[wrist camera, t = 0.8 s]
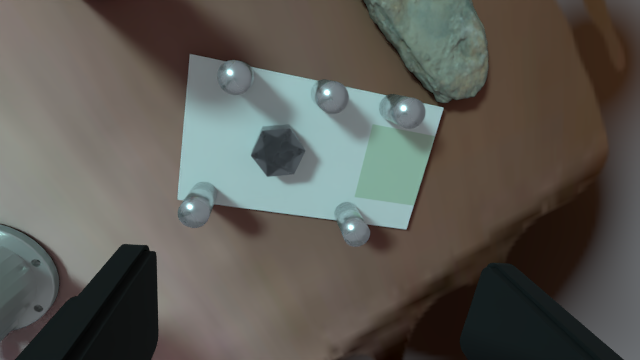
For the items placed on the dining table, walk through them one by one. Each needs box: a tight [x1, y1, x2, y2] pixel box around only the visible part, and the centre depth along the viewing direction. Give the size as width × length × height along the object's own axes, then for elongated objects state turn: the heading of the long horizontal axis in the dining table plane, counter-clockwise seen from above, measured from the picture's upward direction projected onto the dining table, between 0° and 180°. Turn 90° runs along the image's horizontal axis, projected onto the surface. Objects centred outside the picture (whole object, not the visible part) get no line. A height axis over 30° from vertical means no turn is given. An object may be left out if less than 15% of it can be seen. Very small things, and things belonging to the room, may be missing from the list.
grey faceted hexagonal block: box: [251, 124, 306, 177], centre depth 32 cm, size 4×5×2 cm
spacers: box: [178, 60, 426, 247], centre depth 31 cm, size 15×20×5 cm
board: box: [177, 54, 444, 229], centre depth 34 cm, size 14×25×1 cm, turn 78°
